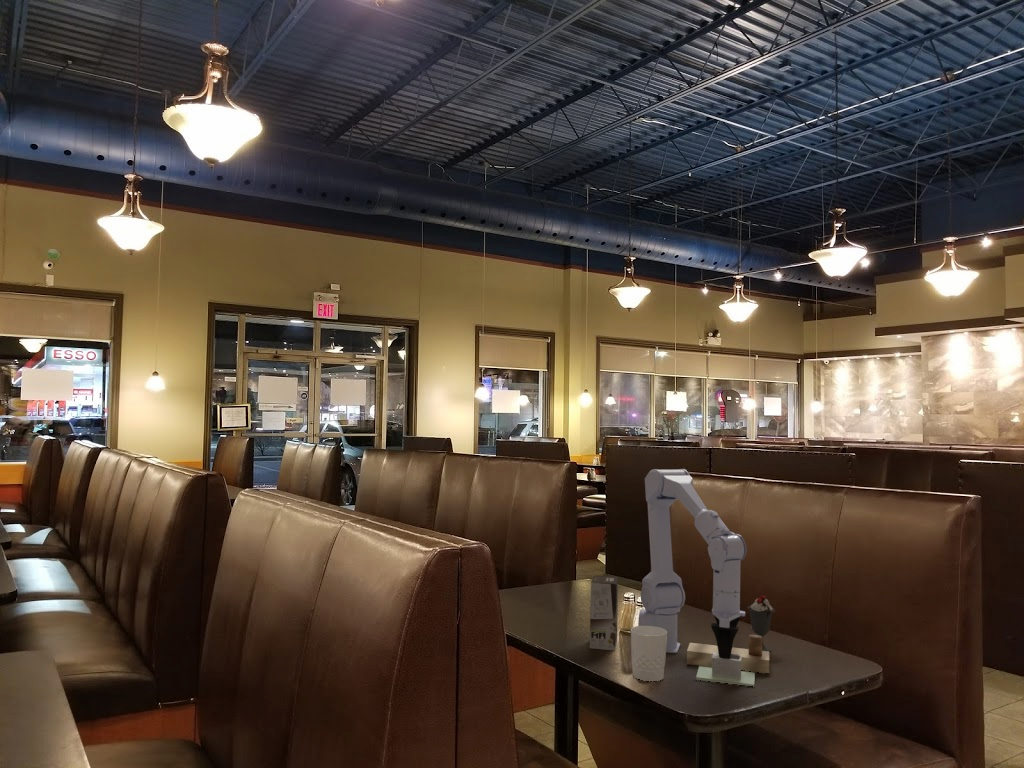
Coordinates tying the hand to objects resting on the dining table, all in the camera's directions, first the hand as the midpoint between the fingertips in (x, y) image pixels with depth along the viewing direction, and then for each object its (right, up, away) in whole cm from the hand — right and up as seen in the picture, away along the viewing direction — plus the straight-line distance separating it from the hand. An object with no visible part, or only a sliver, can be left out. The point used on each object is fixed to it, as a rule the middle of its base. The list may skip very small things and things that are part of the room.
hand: (725, 652), depth 167 cm
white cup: (-17, -5, -1) cm, 18 cm away
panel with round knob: (+3, -6, +9) cm, 11 cm away
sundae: (+15, -7, +21) cm, 26 cm away
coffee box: (-24, -6, +22) cm, 33 cm away
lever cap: (0, -5, 0) cm, 5 cm away
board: (0, -5, 0) cm, 5 cm away
